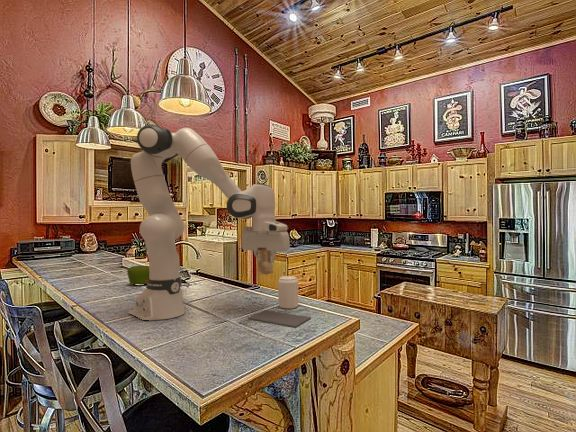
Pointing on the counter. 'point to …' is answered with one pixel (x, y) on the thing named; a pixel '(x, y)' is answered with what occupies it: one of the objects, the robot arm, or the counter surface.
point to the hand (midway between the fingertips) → (265, 262)
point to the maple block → (264, 261)
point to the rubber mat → (280, 318)
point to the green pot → (138, 274)
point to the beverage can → (288, 292)
